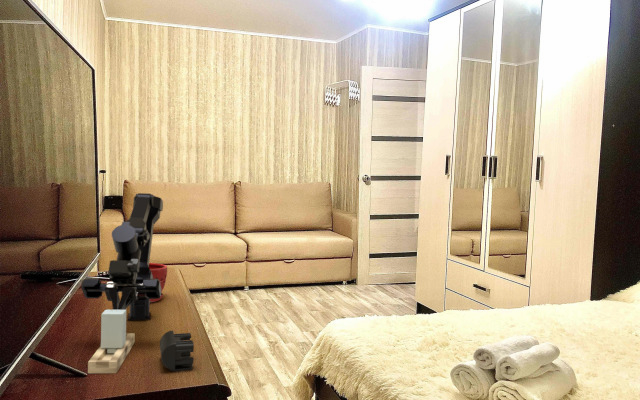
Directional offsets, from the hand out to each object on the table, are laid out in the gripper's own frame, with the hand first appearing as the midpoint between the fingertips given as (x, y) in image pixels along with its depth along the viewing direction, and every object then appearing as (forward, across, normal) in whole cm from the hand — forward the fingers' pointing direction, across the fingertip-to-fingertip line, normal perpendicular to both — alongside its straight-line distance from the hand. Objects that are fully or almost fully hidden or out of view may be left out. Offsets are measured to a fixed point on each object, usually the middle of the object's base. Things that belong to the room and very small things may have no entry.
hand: (116, 318), depth 129 cm
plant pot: (-30, -2, +43) cm, 52 cm away
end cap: (+12, +15, +1) cm, 19 cm away
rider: (+7, 0, +4) cm, 8 cm away
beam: (+8, 0, +4) cm, 9 cm away
